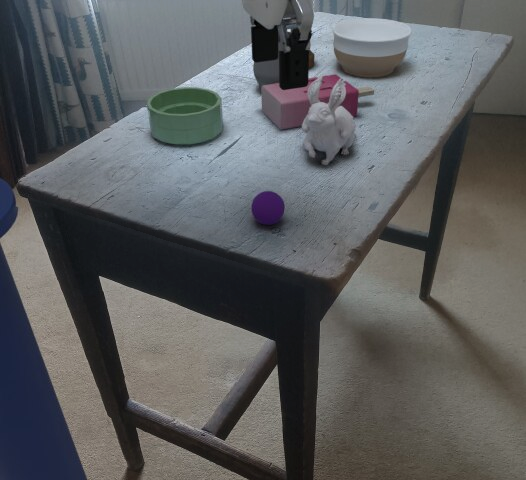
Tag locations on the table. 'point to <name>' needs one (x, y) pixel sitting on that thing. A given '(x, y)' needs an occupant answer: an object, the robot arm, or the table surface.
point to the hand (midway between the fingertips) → (278, 73)
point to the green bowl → (185, 115)
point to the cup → (268, 69)
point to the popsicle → (305, 101)
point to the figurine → (328, 122)
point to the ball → (268, 207)
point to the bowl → (370, 45)
